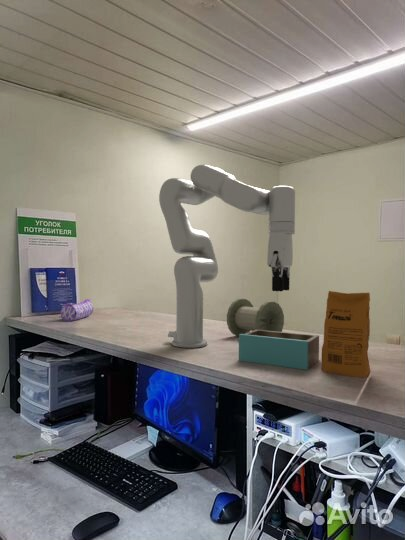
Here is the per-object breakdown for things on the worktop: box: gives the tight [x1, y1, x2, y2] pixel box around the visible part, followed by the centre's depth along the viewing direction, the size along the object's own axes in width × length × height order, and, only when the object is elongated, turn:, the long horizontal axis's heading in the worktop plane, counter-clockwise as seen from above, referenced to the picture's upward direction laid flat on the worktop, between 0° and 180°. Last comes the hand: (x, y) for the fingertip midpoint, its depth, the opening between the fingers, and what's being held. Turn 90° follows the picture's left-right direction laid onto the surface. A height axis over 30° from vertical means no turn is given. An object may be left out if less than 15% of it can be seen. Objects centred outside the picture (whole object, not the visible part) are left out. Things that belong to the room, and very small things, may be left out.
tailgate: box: [238, 334, 309, 371], centre depth 113 cm, size 20×1×8 cm, turn 61°
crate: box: [245, 330, 320, 370], centre depth 119 cm, size 20×12×8 cm, turn 61°
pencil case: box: [60, 298, 94, 322], centre depth 208 cm, size 22×9×10 cm, turn 172°
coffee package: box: [321, 290, 371, 378], centre depth 107 cm, size 10×12×22 cm
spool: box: [226, 298, 285, 337], centre depth 158 cm, size 16×15×15 cm
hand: (280, 289), depth 119 cm, fingers open, 5 cm apart
